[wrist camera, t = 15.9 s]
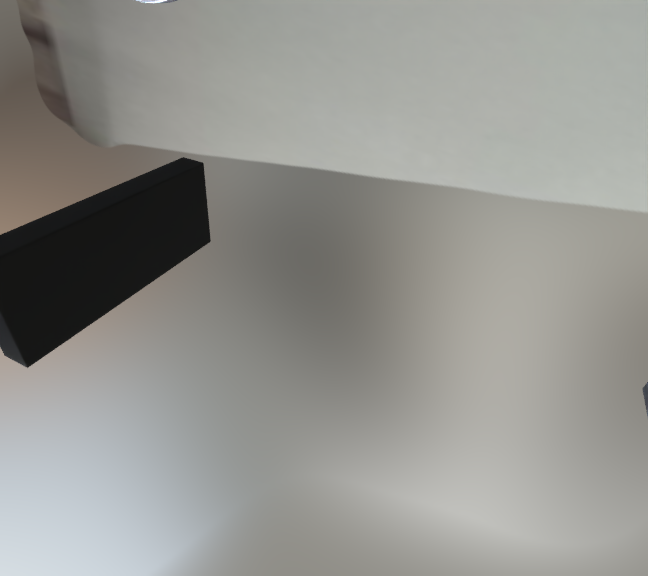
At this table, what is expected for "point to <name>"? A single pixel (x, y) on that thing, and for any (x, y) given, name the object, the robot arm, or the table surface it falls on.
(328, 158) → the table surface
